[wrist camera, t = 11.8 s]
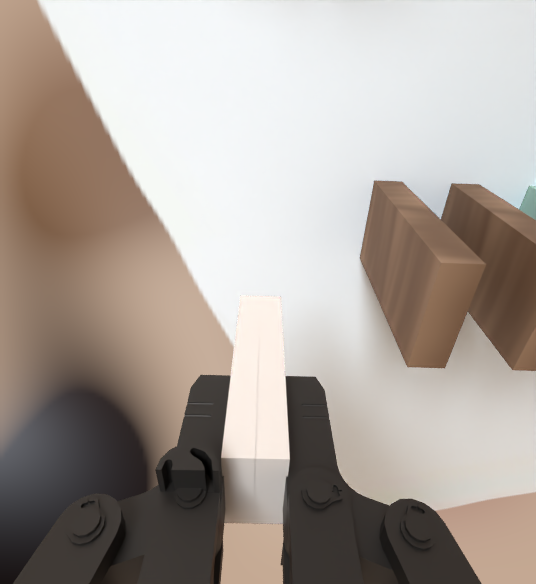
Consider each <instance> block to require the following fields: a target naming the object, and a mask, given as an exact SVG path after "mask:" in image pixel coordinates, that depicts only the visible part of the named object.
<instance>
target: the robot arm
mask: <svg viewBox="0 0 536 584" xmlns="http://www.w3.org/2000/svg"><path fill="white" fill-rule="evenodd" d="M156 474H157V479H158V484H159V485H157V486H156V487H154V488H153V489H151V490H150V491H147V492H145V493H143V494H140V495H137V496H133V497H130V498H127V499H124V500H121V501H116V500H115V499H114V498H112V497H110V496H109V495H107V494H92V495H89V496H85V497H82V498H81V499H79V500H77V501H76V502H74V503H73V504H71V505H70V506H69V507H68V508H67V509H66V510H65V511H64V512H63V513H62V514H61V516H60V517H59V518H58V520H57V521H56V522H55V524H54V525H53V527H52V528H51V530H50V531H49V533H48V534H47V535H46V537H45V538H44V540H43V541H42V543H41V544H40V545H39V547H38V549H37V550H36V551H35V553H34V554H33V556H32V557H31V559H30V560H29V562H28V563H27V564H26V566H25V567H24V569H23V570H22V571H21V573H20V574H19V576H18V577H17V579H16V580H15V581H14V583H13V584H220V581H221V570H222V558H223V530H224V523H253V524H283V533H284V534H283V537H284V541H283V550H282V559H281V565H283V584H481V582H480V581H479V579H478V577H477V576H476V574H475V573H474V571H473V569H472V567H471V566H470V564H469V562H468V561H467V559H466V557H465V556H464V554H463V552H462V551H461V549H460V547H459V546H458V544H457V542H456V541H455V539H454V537H453V536H452V534H451V533H450V531H449V529H448V528H447V526H446V524H445V523H444V521H443V520H442V519H441V518H440V516H439V515H438V514H437V513H436V512H435V511H434V510H433V509H431V508H430V507H429V506H427V505H426V504H424V503H422V502H419V501H416V500H414V499H400V500H398V501H396V502H394V503H392V504H391V505H390V506H389V505H386V504H383V503H381V502H378V501H375V500H372V499H369V498H367V497H364V496H362V495H360V494H358V493H357V492H355V491H354V490H353V489H351V488H350V487H349V486H348V485H347V483H346V482H345V481H344V480H343V478H342V476H341V475H340V473H339V469H338V466H337V461H336V455H335V449H334V444H333V438H332V432H331V426H330V420H329V414H328V408H327V402H326V396H325V391H324V389H323V387H322V386H321V384H320V383H319V381H318V380H317V378H316V377H299V376H285V360H284V342H283V323H282V304H281V297H277V296H243V295H240V302H239V311H238V319H237V328H236V336H235V344H234V353H233V362H232V370H231V376H222V375H200V377H199V378H198V379H197V380H196V382H195V383H194V384H193V385H192V387H191V389H190V394H189V398H188V404H187V407H186V411H185V417H184V419H183V423H182V428H181V432H180V436H179V440H178V445H177V447H175V448H173V449H171V450H169V451H168V452H167V453H166V454H165V455H164V456H163V457H162V458H161V459H160V461H159V464H158V465H157V467H156Z"/></svg>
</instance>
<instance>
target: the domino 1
mask: <svg viewBox="0 0 536 584" xmlns="http://www.w3.org/2000/svg"><path fill="white" fill-rule="evenodd" d="M360 259H361V262H362V264H363V266H364V268H365V271H366V273H367V275H368V278H369V280H370V282H371V285H372V287H373V289H374V291H375V294H376V296H377V298H378V301H379V303H380V305H381V308H382V310H383V312H384V314H385V317H386V319H387V321H388V324H389V326H390V328H391V331H392V333H393V335H394V337H395V340H396V342H397V344H398V347H399V349H400V351H401V354H402V356H403V358H404V360H405V363H406V365H407V367H422V368H445V367H446V364H447V362H448V359H449V357H450V354H451V352H452V349H453V347H454V344H455V341H456V339H457V336H458V334H459V331H460V329H461V326H462V324H463V321H464V319H465V316H466V314H467V311H468V309H469V306H470V304H471V301H472V299H473V296H474V294H475V291H476V289H477V286H478V284H479V281H480V279H481V276H482V274H483V271H484V269H485V266H486V264H485V263H484V262H483V261H482V260H481V259H480V258H479V257H478V256H477V255H476V254H475V253H474V252H473V251H472V250H471V249H470V248H469V247H468V246H467V245H466V244H465V243H464V242H463V241H462V240H461V239H460V238H459V237H458V236H457V235H456V234H455V233H454V232H453V231H452V230H451V229H450V228H449V227H448V226H447V225H446V224H445V223H444V222H443V221H441V220H440V219H439V218H438V217H437V216H436V215H435V214H434V213H433V212H432V211H431V210H430V209H429V208H428V207H427V206H426V205H425V204H424V203H423V202H422V201H421V200H420V199H419V198H418V197H417V196H416V195H415V194H414V193H413V192H412V191H411V190H410V189H409V188H408V187H407V186H406V185H405V184H404V183H403V182H396V181H374V185H373V191H372V196H371V201H370V207H369V212H368V217H367V223H366V228H365V233H364V239H363V244H362V249H361V254H360Z"/></svg>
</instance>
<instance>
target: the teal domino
mask: <svg viewBox="0 0 536 584" xmlns="http://www.w3.org/2000/svg"><path fill="white" fill-rule="evenodd" d="M519 210H520V211H522V212H524V213H525V214H527V215H528V216H530V217H531V218H533V219H535V220H536V186H529V188H528V190H527V192H526V195H525V197H524V200H523V202H522V204H521V207H520V209H519Z"/></svg>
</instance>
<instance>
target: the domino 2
mask: <svg viewBox="0 0 536 584" xmlns="http://www.w3.org/2000/svg"><path fill="white" fill-rule="evenodd" d="M441 221H443V222H444V223H445V224H446V225H447V226H448V227H449V228H450V229H451V230H452V231H453V232H454V233H455V234H456V235H457V236H458V237H459V238H460V239H461V240H462V241H463V242H464V243H465V244H466V245H467V246H468V247H469V248H470V249H471V250H472V251H473V252H474V253H475V254H476V255H477V256H478V257H479V258H480V259H481V260H482V261H483V262H484V263H485V264H486V266H485V269H484V271H483V274H482V276H481V279H480V281H479V284H478V286H477V289H476V291H475V294H474V296H473V299H472V301H471V304H470V306H469V309H468V312H469V314H470V315H471V316H472V318H473V319H474V320H475V322H476V323H477V324H478V325H479V327H480V328H481V329H482V331H483V332H484V333H485V335H486V336H487V337H488V339H489V340H490V341H491V342H492V344H493V345H494V346H495V348H496V349H497V350H498V352H499V353H500V354H501V356H502V357H503V358H504V360H505V361H506V362H507V363H508V365H509V366H510V367H511V369H512V370H527V371H536V220H535V219H533V218H531V217H530V216H528V215H527V214H525V213H524V212H522V211H520V210H519V209H517V208H516V207H514V206H512V205H511V204H509V203H508V202H506V201H505V200H503V199H501V198H500V197H498V196H497V195H495V194H493V193H492V192H490V191H489V190H487V189H485V188H484V187H482V186H481V185H479V184H451V188H450V191H449V194H448V198H447V201H446V204H445V208H444V211H443V214H442V217H441Z"/></svg>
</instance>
